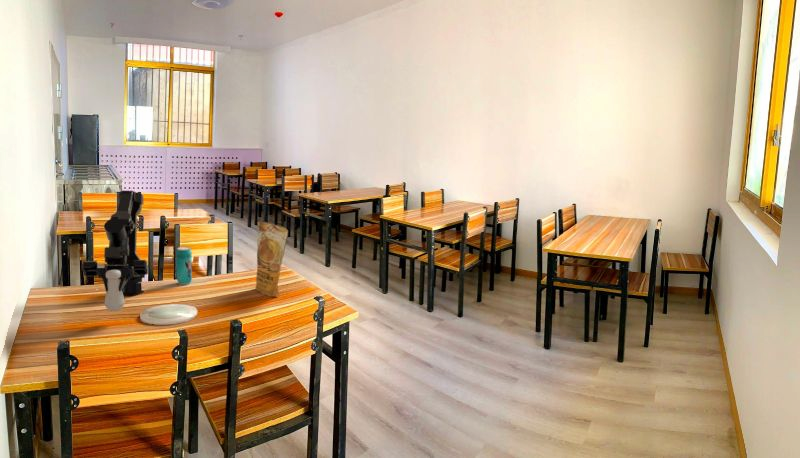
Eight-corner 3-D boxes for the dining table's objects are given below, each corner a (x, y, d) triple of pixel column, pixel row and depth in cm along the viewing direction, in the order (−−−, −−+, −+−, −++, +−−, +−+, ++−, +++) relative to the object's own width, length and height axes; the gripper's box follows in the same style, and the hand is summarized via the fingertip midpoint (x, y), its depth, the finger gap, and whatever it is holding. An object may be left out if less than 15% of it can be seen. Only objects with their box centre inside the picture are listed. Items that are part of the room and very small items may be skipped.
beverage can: (186, 285, 216) (185, 250, 214) (174, 284, 217) (173, 248, 215) (194, 282, 222) (194, 247, 219) (182, 281, 223) (181, 246, 220)
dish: (127, 319, 175) (127, 316, 175) (166, 304, 192) (166, 301, 192) (172, 328, 170) (172, 324, 170) (208, 311, 187) (208, 308, 187)
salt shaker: (129, 308, 173) (127, 269, 171) (114, 313, 167) (112, 273, 165) (115, 305, 175) (113, 267, 172) (100, 310, 169) (98, 271, 167)
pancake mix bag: (264, 285, 222) (264, 220, 218) (288, 296, 209) (290, 227, 204) (249, 288, 218) (249, 221, 213) (273, 299, 204) (274, 228, 200)
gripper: (81, 236, 168) (74, 279, 159) (145, 236, 174) (142, 277, 165) (88, 255, 176) (82, 296, 168) (149, 253, 182) (146, 294, 174)
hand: (113, 291), depth 169 cm, fingers closed on salt shaker, 3 cm apart
